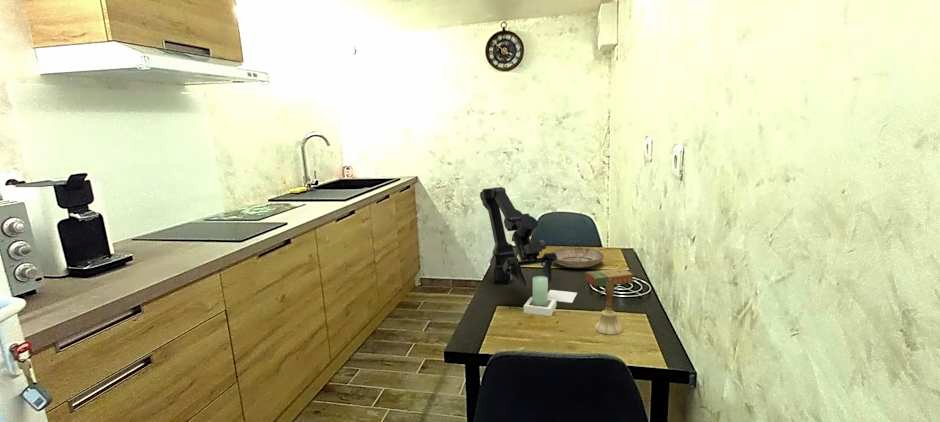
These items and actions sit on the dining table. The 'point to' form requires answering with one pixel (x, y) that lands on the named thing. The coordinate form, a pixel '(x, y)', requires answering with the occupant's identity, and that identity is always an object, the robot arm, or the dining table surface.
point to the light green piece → (540, 291)
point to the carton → (609, 277)
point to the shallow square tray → (540, 308)
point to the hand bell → (608, 314)
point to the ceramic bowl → (578, 257)
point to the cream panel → (562, 296)
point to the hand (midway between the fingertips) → (538, 284)
